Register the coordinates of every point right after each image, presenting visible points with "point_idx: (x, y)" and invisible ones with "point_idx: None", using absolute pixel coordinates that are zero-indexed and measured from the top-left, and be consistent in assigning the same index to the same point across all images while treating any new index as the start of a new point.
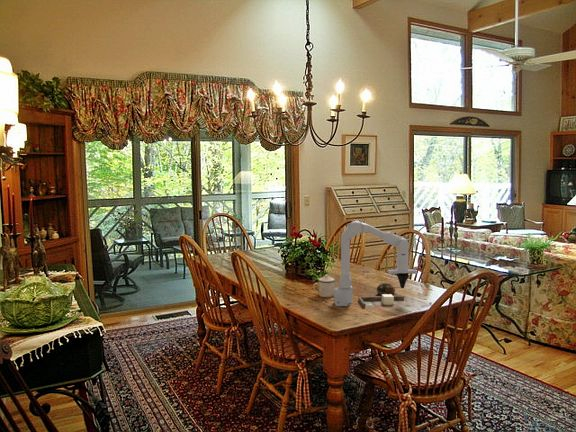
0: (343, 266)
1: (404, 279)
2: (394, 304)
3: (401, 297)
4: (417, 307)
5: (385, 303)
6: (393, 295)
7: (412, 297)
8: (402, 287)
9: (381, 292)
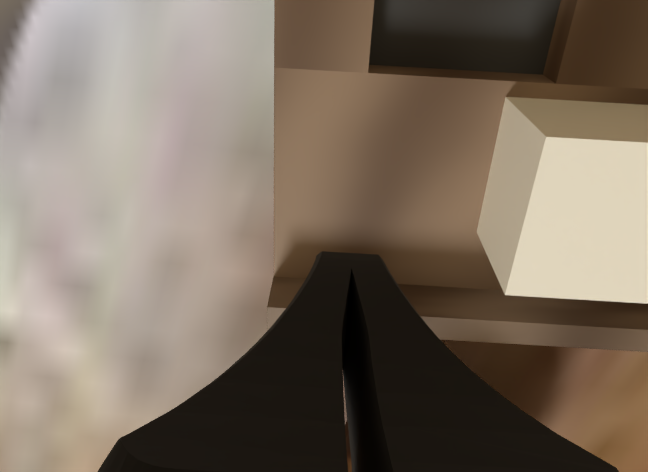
0: None
1: (319, 381)
2: (495, 91)
3: None
4: (149, 30)
5: (645, 110)
6: (347, 429)
7: (128, 410)
8: (362, 258)
9: None
